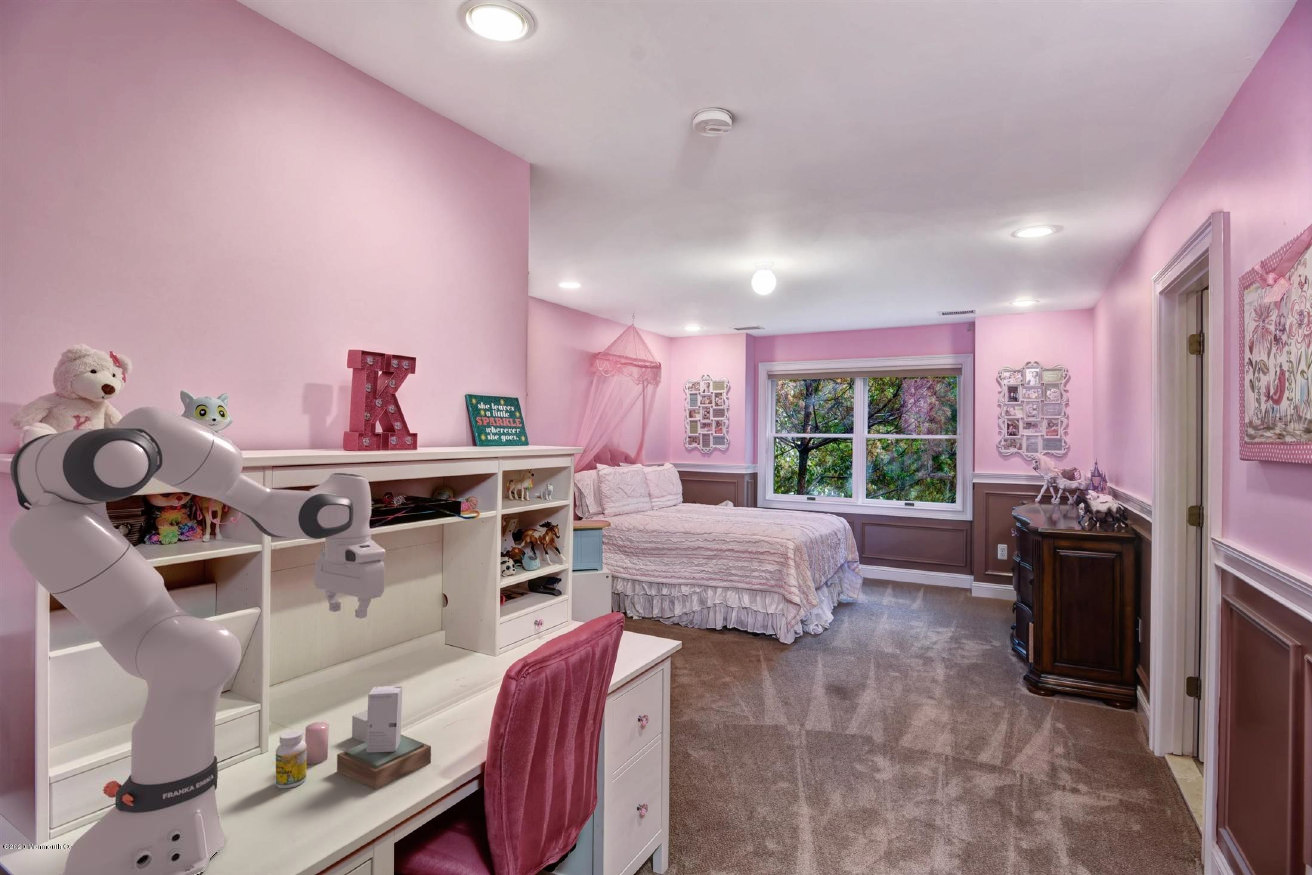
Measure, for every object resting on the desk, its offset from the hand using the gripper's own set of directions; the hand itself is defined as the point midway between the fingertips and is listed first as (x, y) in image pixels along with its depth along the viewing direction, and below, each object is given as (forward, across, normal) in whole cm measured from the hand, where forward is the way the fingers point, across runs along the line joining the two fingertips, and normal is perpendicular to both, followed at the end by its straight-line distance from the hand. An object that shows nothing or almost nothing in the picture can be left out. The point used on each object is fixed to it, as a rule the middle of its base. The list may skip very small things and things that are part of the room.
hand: (347, 614), depth 140 cm
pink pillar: (+31, -6, -3) cm, 32 cm away
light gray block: (+31, -7, +10) cm, 34 cm away
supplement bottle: (+31, -1, -11) cm, 33 cm away
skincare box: (+27, +9, +3) cm, 29 cm away
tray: (+31, +9, +3) cm, 33 cm away
